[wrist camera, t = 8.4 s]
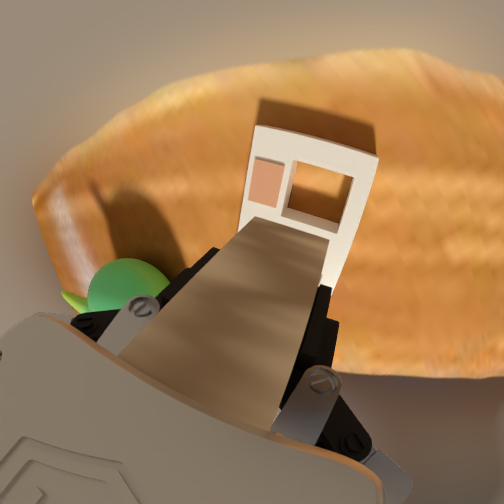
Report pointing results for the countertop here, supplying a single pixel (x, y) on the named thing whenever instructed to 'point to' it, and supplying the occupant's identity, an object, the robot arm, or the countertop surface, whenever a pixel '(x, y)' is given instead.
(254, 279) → the maple peg
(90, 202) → the countertop surface
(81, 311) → the toy bird
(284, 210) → the socket block
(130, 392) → the robot arm
